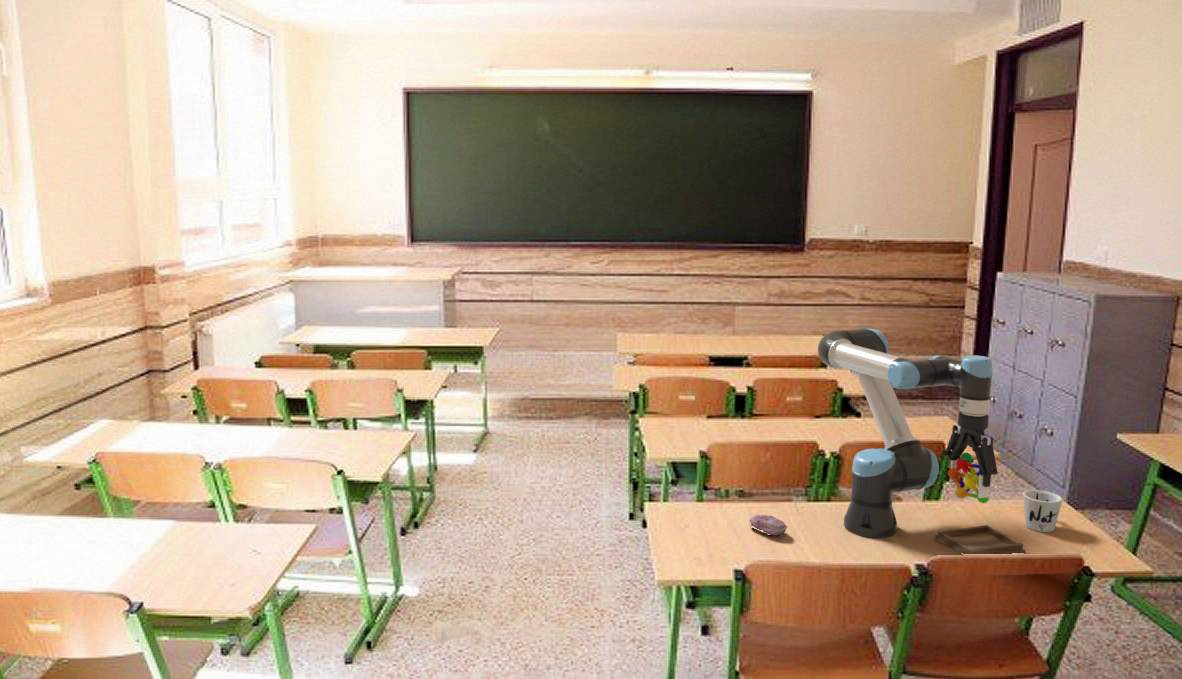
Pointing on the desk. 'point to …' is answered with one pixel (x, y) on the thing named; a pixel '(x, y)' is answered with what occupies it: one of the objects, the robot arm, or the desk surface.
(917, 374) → the robot arm
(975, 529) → the base
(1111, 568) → the desk surface
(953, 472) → the molecular model
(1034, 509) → the mug
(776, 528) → the fossil
